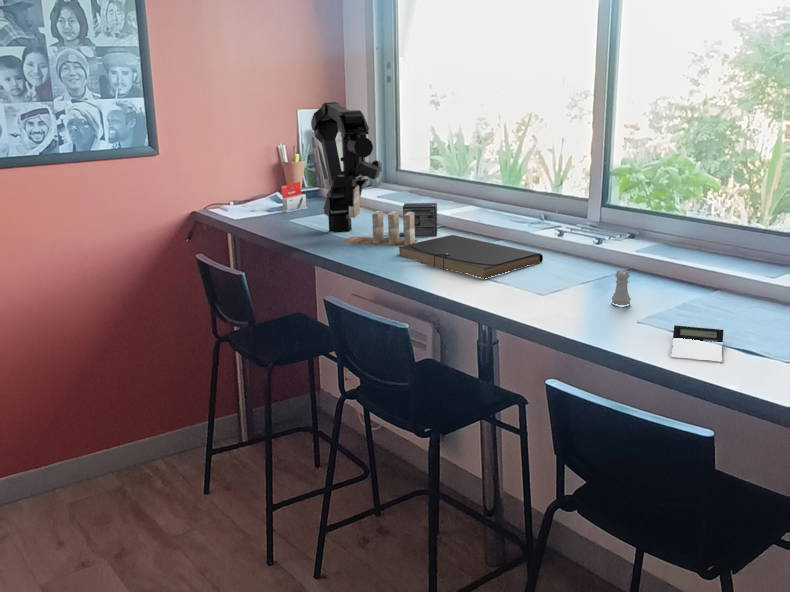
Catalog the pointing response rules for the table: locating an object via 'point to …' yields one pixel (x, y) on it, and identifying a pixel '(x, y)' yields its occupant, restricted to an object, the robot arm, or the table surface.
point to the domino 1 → (355, 205)
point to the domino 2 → (378, 226)
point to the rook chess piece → (621, 289)
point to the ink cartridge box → (293, 197)
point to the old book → (469, 255)
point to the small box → (423, 218)
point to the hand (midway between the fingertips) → (354, 204)
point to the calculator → (698, 333)
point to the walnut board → (370, 241)
